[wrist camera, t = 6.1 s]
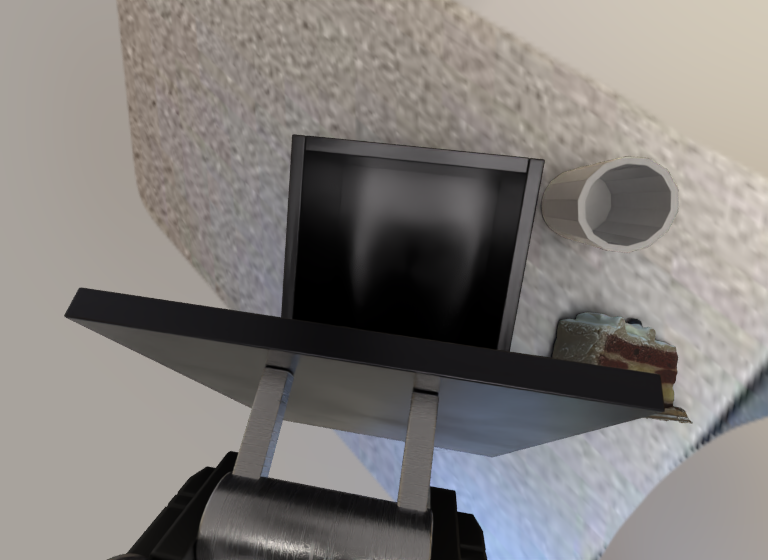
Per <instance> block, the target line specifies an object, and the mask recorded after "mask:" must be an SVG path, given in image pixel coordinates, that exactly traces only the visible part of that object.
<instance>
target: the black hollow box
mask: <svg viewBox="0 0 768 560" xmlns="http://www.w3.org/2000/svg"><path fill="white" fill-rule="evenodd" d="M544 163H545V160H544V159H535V158H530V159H529V158H526V157H516V156H506V155H496V154H486V153H476V152H466V151H456V150H446V149H436V148H426V147H416V146H406V145H396V144H386V143H376V142H366V141H356V140H346V139H336V138H326V137H316V136H305V135H295V134H294V135H292V148H291V165H290V181H289V198H288V214H287V230H286V247H285V263H284V279H283V296H282V312H281V317H282V318H288V319H295V320H302V321H309V322H315V323H322V324H329V325H335V326H342V327H349V328H355V329H362V330H369V331H375V332H382V333H389V334H395V335H402V336H409V337H415V338H422V339H429V340H435V341H442V342H449V343H456V344H462V345H469V346H476V347H482V348H489V349H496V350H502V351H509V352H510V347H511V341H512V336H513V330H514V325H515V320H516V314H517V309H518V303H519V298H520V292H521V287H522V282H523V276H524V271H525V265H526V260H527V255H528V249H529V244H530V238H531V233H532V227H533V222H534V217H535V211H536V206H537V200H538V195H539V190H540V184H541V179H542V173H543V168H544Z"/></svg>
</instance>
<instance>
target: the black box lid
mask: <svg viewBox="0 0 768 560" xmlns="http://www.w3.org/2000/svg"><path fill="white" fill-rule="evenodd" d="M64 316H65V317H66V318H68V319H70V320H72V321H74V322H76V323H78V324H80V325H82V326H84V327H86V328H88V329H90V330H92V331H95V332H96V333H99V334H101V335H103V336H105V337H107V338H109V339H111V340H113V341H115V342H117V343H119V344H121V345H123V346H125V347H127V348H129V349H131V350H133V351H135V352H137V353H139V354H141V355H144V356H146V357H148V358H150V359H152V360H154V361H156V362H158V363H160V364H162V365H164V366H166V367H168V368H170V369H172V370H174V371H176V372H178V373H180V374H182V375H184V376H186V377H188V378H190V379H192V380H194V381H197V382H199V383H201V384H203V385H205V386H207V387H209V388H211V389H213V390H215V391H217V392H219V393H221V394H223V395H225V396H227V397H229V398H231V399H233V400H235V401H237V402H240V403H241V404H244V405H245V406H248V407H250V408H252V410H251V413H250V417H249V420H248V423H247V426H246V430H245V434H244V436H243V440H242V443H241V446H240V450H239V453H238V457H237V460H236V463H235V467H234V470H233V471H232V472H229V473H227V474H226V475H225V476H224V477H223V478H222V479H221V480H220V482H219V483H218V484H217V486H216V487H215V489H214V491H213V493H212V494H211V496H210V498H209V501H208V503H207V505H206V507H205V510H204V513H203V516H202V518H201V522H200V525H199V529H198V533H197V539H196V547H195V556H196V560H431V555H432V541H433V513H432V510H430V509H429V508H427V506H428V497H429V487H430V478H431V469H432V459H433V450H434V447H437V448H443V449H449V450H454V451H460V452H465V453H471V454H477V455H482V456H488V457H495V456H499V455H503V454H507V453H511V452H514V451H518V450H522V449H526V448H529V447H533V446H537V445H541V444H545V443H548V442H552V441H556V440H560V439H564V438H567V437H571V436H575V435H579V434H582V433H586V432H590V431H594V430H598V429H601V428H605V427H609V426H613V425H616V424H620V423H624V422H628V421H632V420H635V419H639V418H643V417H647V416H650V415H654V414H658V413H662V412H664V411H665V405H664V397H663V389H662V381H661V375H660V374H656V373H649V372H643V371H636V370H629V369H623V368H616V367H609V366H603V365H596V364H589V363H583V362H576V361H569V360H562V359H556V358H549V357H542V356H536V355H529V354H522V353H516V352H509V351H502V350H496V349H489V348H482V347H476V346H469V345H462V344H456V343H449V342H442V341H435V340H429V339H422V338H415V337H409V336H402V335H395V334H389V333H382V332H375V331H369V330H362V329H355V328H349V327H342V326H335V325H329V324H322V323H315V322H309V321H302V320H295V319H288V318H282V317H275V316H268V315H262V314H255V313H248V312H242V311H235V310H228V309H222V308H214V307H208V306H202V305H195V304H188V303H182V302H175V301H168V300H161V299H154V298H148V297H141V296H135V295H128V294H121V293H115V292H108V291H101V290H94V289H87V288H79V289H78V291H77V293H76V295H75V297H74V298H73V300H72V302H71V304H70V306H69V308H68V309H67V311H66V313H65V315H64ZM283 420H286V421H291V422H296V423H302V424H307V425H313V426H319V427H325V428H330V429H336V430H341V431H347V432H353V433H358V434H364V435H370V436H375V437H381V438H386V439H392V440H398V441H403V442H405V448H404V456H403V463H402V470H401V478H400V485H399V492H398V500H397V502H392V501H387V500H382V499H377V498H372V497H367V496H361V495H356V494H351V493H346V492H341V491H336V490H330V489H325V488H320V487H315V486H309V485H304V484H299V483H294V482H289V481H284V480H279V479H274V478H268V474H269V470H270V467H271V463H272V459H273V455H274V451H275V448H276V444H277V440H278V436H279V433H280V429H281V425H282V421H283Z"/></svg>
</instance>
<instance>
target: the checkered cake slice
mask: <svg viewBox="0 0 768 560" xmlns="http://www.w3.org/2000/svg"><path fill="white" fill-rule="evenodd" d="M655 335H656V332H655V330H654V329H653V328H650V327H646V328H643V327H642V324H641V321H640V320H638V319H630V320H629V321H628V323H625V320H624V319H623V318H622V317H619V316H617V317H610V316H608V315H605V314H599V313H589V312H585V313H581V314H579V315H577V317H576V320H572V319H565V320H560V322H559V324H558V329H557V340H556V341H555V344H554V351H553V357H552V358H556V359H562V360H569V361H576V362H583V363H589V364H596V365H603V366H609V367H616V368H623V369H629V370H636V371H643V372H649V373H656V374H660V375H661V381H662V389H663V397H664V405H665V411H664V412H662V413H658V414H654V415H650V416H647V417H643V418H652V419H658V420H665V421H668V420H674V421H679V422H681V423H691V424H692V422H691V421H690V420H689V418H688V417H687V414H686V412H685V410H683V409H682V408H679V407H675V406H673V401H674V391H673V384H674V383H675V381H676V375H677V361H678V355H677V352H676V347H675V346H672V345H669V344H667V343H665V342H661V341H657V340H655Z"/></svg>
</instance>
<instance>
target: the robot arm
mask: <svg viewBox="0 0 768 560" xmlns="http://www.w3.org/2000/svg"><path fill="white" fill-rule="evenodd" d="M238 453H239V452H233V451H230V452H228V453H227V454H226V455H225V457H224V458H223V459H222V461H221V462H220V463H219V464H218V466H217V467H216V468H213V467H205V468H204V469H202V470H201V471H199V472H198V473H196V474H195V475H193V476H191V477H190V478H189V479H188V480H187V482H186V483H185V484H184V485H183V486H182V488H181V489H180V490H179V491H178V494H177V495H175V496H174V497H173V498H172V500H171V501H170V502H169V503H168V506H167V507H165V508H164V509H163V510H162V512H161V513H160V514H159V515H158V516H157V518H156V519H155V520H154V521H153V522H152V524H151V525H150V526H149V527H148V528H147V530H146V531H145V532H144V533H143V535H142V536H141V537H140V538H139V539H138V540H137V542H136V543H135V544H134V545H133V546H132V548H131V549H130V550H129V551H128V552H127V553H126V554H122V555H118V556H115V557H112V558H110V559H108V560H196V556H195V547H196V539H197V533H198V529H199V525H200V522H201V518H202V516H203V513H204V510H205V507H206V505H207V503H208V501H209V498H210V496H211V494H212V493H213V491H214V489H215V487H216V486H217V484H218V483H219V482H220V480H221V479H222V478H223V477H224V476H225V475H226V474H227V473H229V472H232V471H233V470H234V467H235V463H236V460H237V457H238ZM427 508H429V509H430V510H432V513H433V541H432V555H431V560H487V556H486V553H485V550H486V549H485V542H484V535H483V531H482V529H481V527H480V525H479V524H478V522H477V520H476V519H475V517H474V515H473V514H468V513H462V512H457V502H456V492H455V491H454V490H449V489H443V488H437V487H431V486H430V487H429V497H428V506H427Z"/></svg>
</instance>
